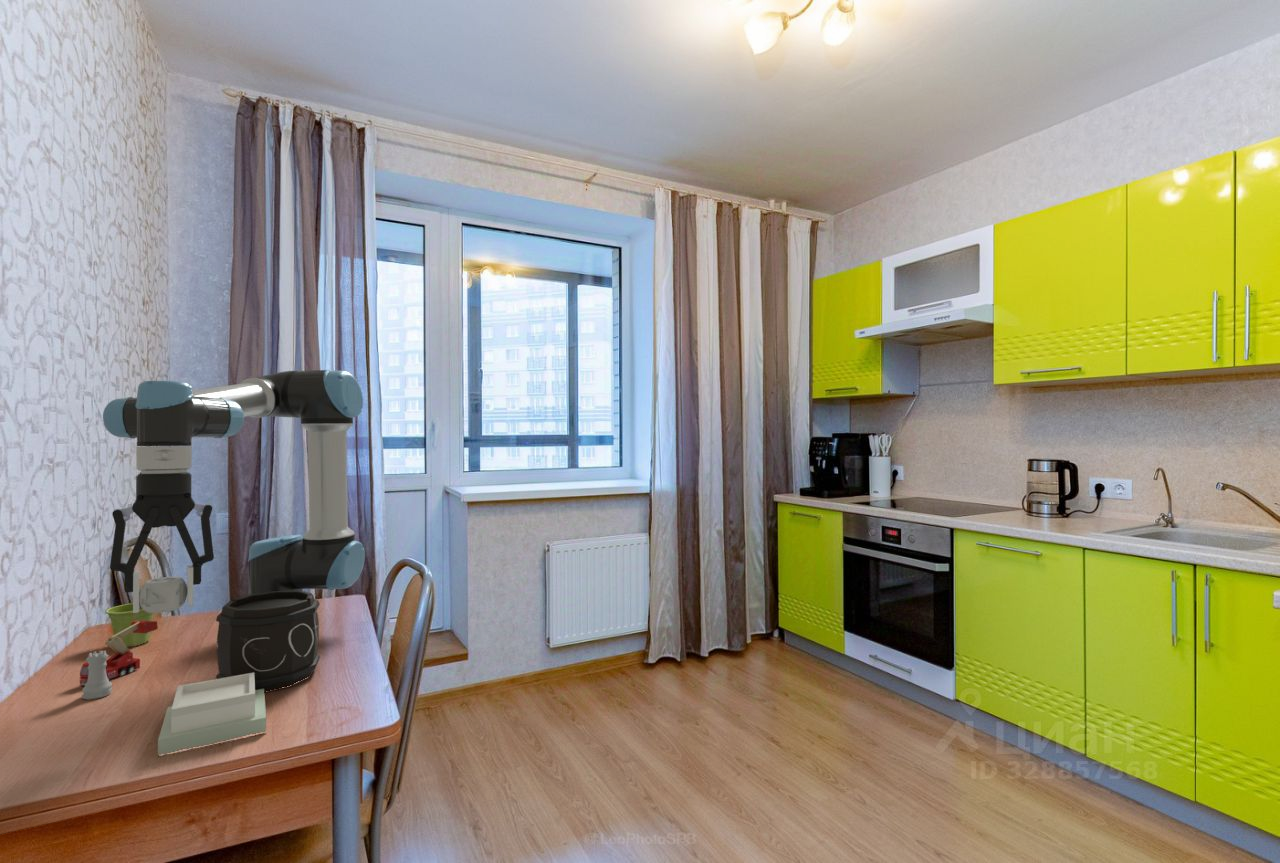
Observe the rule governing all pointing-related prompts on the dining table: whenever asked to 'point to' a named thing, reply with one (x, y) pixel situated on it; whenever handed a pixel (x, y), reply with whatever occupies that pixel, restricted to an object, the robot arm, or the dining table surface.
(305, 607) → the black bucket
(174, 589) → the die
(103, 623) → the dining table surface
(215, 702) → the tower base
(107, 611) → the plant pot
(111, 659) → the toy fire truck
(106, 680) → the rook chess piece
